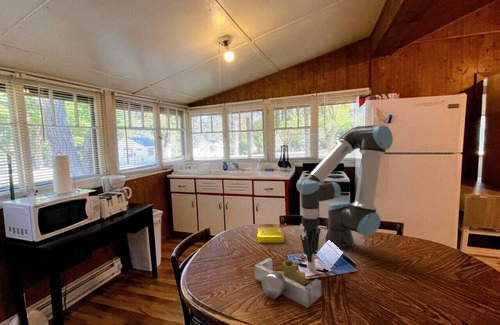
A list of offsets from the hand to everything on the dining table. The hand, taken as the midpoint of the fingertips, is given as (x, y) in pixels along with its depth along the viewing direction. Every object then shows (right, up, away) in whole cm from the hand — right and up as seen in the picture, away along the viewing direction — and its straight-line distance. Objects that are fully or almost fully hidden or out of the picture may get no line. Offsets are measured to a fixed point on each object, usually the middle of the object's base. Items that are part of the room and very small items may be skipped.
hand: (311, 267), depth 111 cm
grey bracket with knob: (-15, -3, -14) cm, 21 cm away
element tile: (-15, +1, +37) cm, 40 cm away
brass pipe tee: (-11, -2, -8) cm, 14 cm away
